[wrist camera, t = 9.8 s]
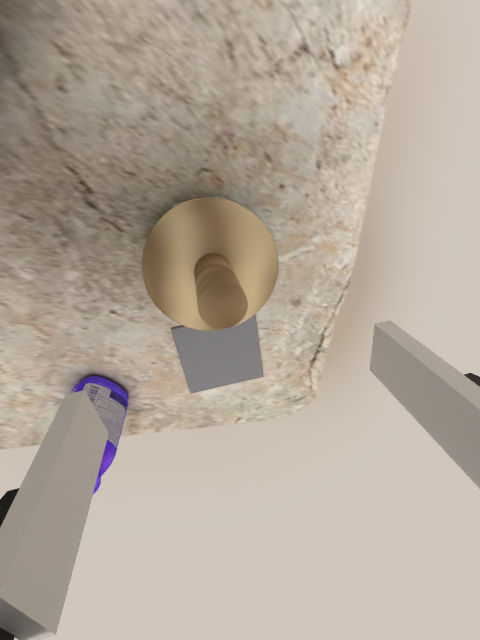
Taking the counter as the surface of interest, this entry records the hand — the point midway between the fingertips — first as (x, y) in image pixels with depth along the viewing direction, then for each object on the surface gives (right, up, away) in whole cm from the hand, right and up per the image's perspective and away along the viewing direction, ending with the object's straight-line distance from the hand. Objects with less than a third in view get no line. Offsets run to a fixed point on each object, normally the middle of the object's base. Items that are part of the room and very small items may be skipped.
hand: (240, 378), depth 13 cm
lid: (-3, +8, +16) cm, 18 cm away
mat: (-3, -2, +27) cm, 27 cm away
